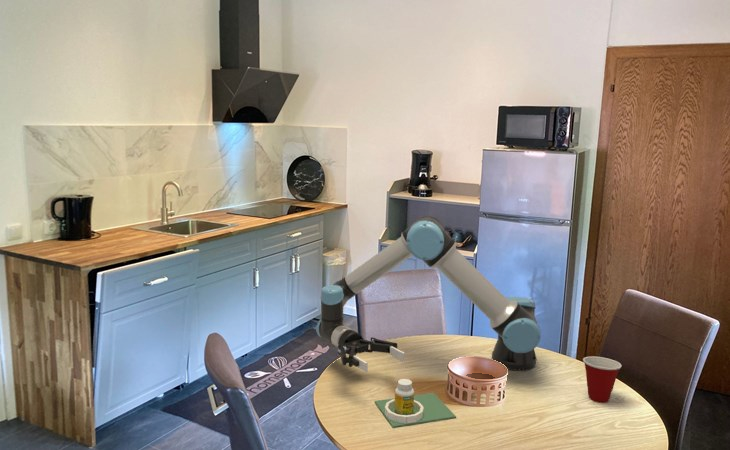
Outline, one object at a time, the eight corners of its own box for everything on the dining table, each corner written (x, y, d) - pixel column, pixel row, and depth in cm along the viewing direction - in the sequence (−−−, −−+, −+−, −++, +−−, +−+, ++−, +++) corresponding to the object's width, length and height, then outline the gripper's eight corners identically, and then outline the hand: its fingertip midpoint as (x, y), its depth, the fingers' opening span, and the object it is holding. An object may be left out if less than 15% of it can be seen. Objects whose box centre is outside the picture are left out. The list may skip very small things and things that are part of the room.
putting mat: (433, 394, 175) (433, 392, 175) (455, 417, 161) (456, 416, 161) (374, 402, 169) (374, 400, 169) (392, 427, 155) (392, 426, 155)
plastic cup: (618, 394, 177) (622, 357, 175) (617, 409, 167) (621, 371, 165) (581, 387, 181) (584, 351, 179) (578, 401, 172) (581, 364, 170)
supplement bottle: (405, 407, 165) (406, 376, 164) (417, 415, 161) (418, 383, 159) (390, 412, 162) (391, 380, 161) (402, 420, 158) (403, 387, 156)
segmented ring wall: (414, 402, 168) (414, 396, 168) (429, 420, 158) (429, 413, 158) (380, 407, 165) (380, 401, 165) (393, 425, 155) (393, 418, 155)
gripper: (378, 343, 195) (417, 364, 178) (314, 359, 181) (350, 384, 164) (378, 322, 194) (418, 341, 176) (313, 337, 180) (350, 359, 163)
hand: (385, 362), depth 170 cm, fingers open, 13 cm apart
